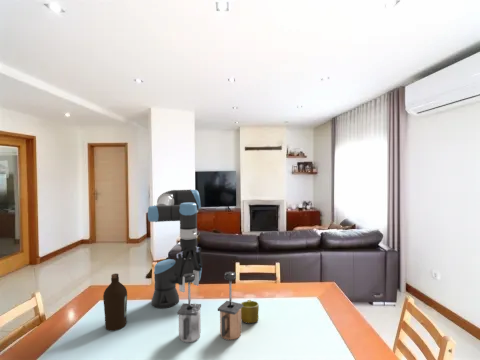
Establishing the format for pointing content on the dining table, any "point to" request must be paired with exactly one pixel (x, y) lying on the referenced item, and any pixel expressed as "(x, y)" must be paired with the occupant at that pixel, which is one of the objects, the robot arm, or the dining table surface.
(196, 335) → the plate
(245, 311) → the mug
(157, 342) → the dining table surface
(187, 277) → the plunger steel
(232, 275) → the plunger copper
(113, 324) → the olive oil
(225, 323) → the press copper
